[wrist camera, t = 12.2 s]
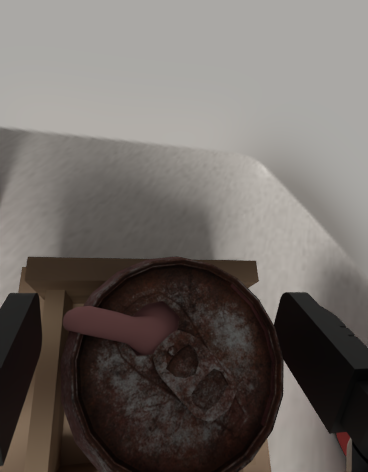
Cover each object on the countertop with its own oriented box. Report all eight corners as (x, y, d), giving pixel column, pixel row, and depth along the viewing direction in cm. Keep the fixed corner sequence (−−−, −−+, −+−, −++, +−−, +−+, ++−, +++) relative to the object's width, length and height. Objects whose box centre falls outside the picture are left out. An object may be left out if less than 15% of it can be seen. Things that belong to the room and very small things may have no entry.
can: (103, 311, 21) (85, 221, 9) (194, 329, 22) (299, 271, 9) (76, 412, 19) (-5, 492, 6) (180, 429, 20) (297, 533, 7)
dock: (265, 485, 20) (335, 539, 14) (-10, 522, 17) (-86, 614, 11) (240, 273, 26) (282, 240, 19) (26, 272, 23) (-10, 232, 16)
